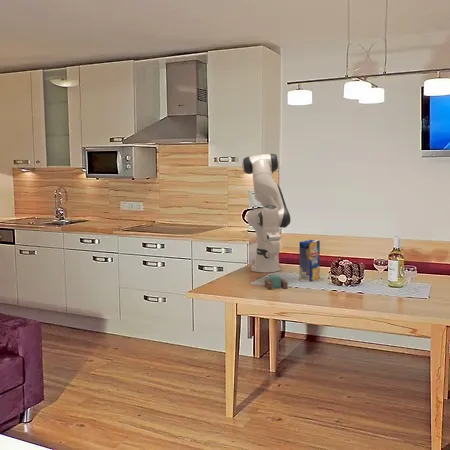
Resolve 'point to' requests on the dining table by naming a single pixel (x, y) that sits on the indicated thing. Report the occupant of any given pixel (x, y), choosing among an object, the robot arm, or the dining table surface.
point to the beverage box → (309, 260)
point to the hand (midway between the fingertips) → (271, 259)
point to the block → (275, 281)
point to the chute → (269, 284)
